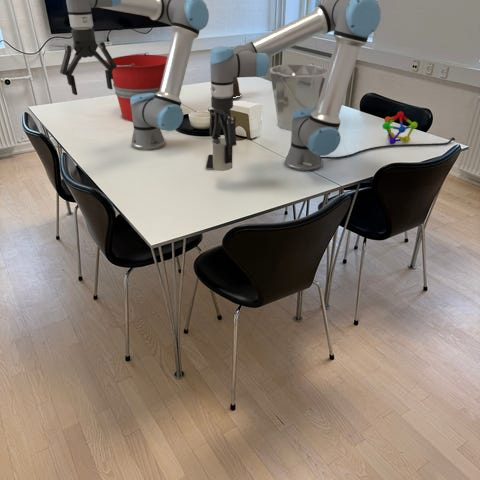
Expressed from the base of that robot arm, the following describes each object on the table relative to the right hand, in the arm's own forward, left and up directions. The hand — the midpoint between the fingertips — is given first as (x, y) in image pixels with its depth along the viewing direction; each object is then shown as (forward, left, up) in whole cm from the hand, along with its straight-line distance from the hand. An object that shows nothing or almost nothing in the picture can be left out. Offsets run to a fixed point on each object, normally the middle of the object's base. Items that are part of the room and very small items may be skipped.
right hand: (222, 159), depth 163 cm
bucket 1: (-12, -103, -11) cm, 104 cm away
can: (0, 0, -3) cm, 3 cm away
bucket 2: (-71, -43, -11) cm, 84 cm away
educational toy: (-94, +4, -11) cm, 95 cm away
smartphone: (-9, -21, -11) cm, 26 cm away
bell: (-71, -112, -11) cm, 133 cm away
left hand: (+33, -38, +21) cm, 54 cm away
